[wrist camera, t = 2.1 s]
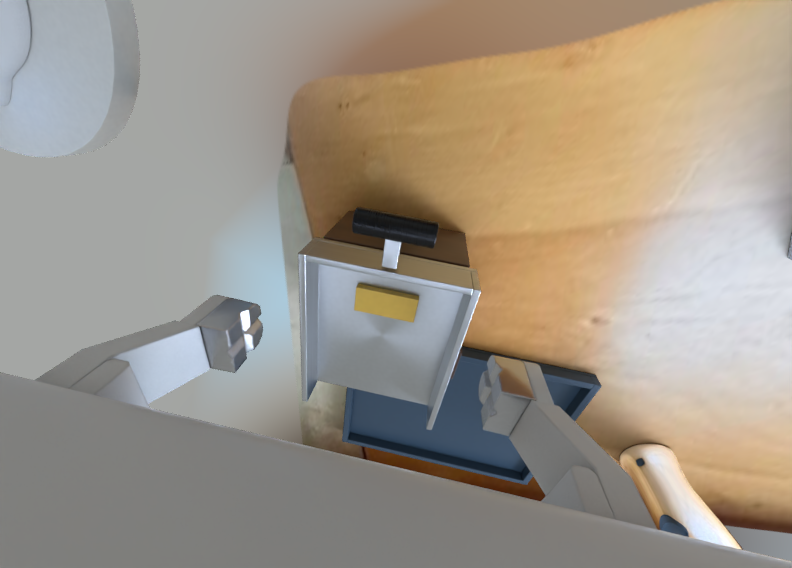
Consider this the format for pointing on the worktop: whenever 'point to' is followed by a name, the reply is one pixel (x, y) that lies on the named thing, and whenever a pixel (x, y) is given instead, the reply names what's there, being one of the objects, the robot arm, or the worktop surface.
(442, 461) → the tray
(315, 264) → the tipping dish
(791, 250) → the grey boxy piece
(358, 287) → the yellow block
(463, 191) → the worktop surface
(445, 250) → the stand
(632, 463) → the silver metal vase
